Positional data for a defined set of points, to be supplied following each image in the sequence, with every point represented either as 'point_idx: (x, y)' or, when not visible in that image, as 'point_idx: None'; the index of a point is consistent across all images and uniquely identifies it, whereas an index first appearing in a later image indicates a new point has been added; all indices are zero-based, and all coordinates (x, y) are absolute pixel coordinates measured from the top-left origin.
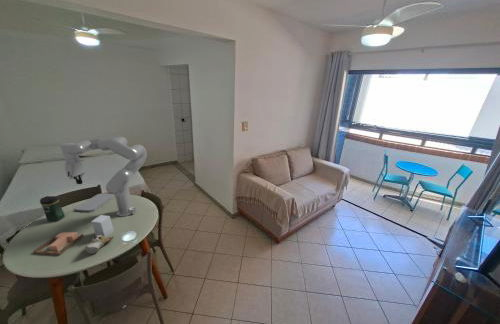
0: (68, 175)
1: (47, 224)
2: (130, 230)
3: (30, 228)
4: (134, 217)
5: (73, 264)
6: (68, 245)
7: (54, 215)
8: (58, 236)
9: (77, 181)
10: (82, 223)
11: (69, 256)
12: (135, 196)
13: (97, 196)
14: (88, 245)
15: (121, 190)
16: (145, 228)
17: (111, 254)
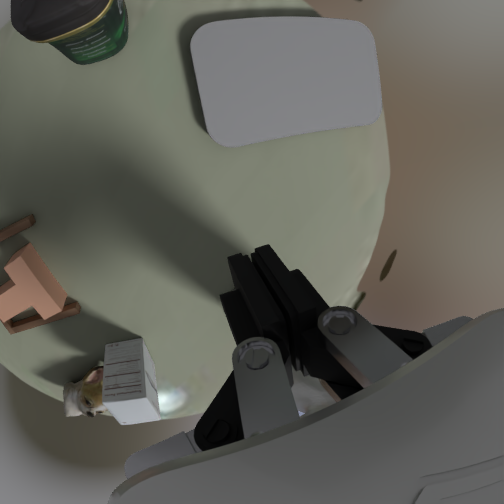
0: (164, 497)
1: (48, 51)
2: (182, 389)
3: (11, 27)
4: None
5: (36, 379)
6: (32, 326)
7: (66, 55)
8: (12, 276)
9: (236, 342)
10: (117, 210)
11: (31, 352)
12: (380, 220)
13: (344, 38)
14: (69, 412)
15: (304, 412)
16: (208, 405)
17: (104, 413)
